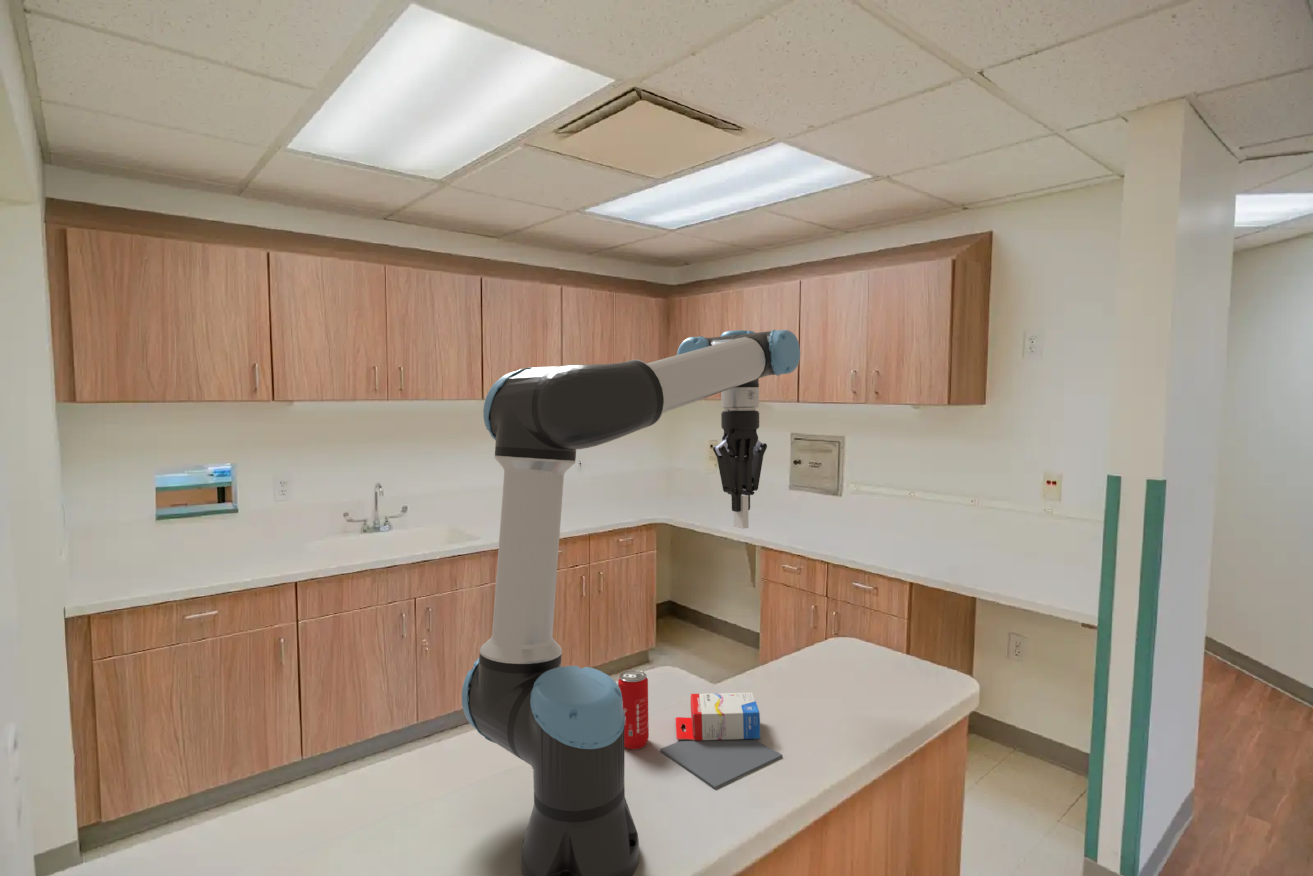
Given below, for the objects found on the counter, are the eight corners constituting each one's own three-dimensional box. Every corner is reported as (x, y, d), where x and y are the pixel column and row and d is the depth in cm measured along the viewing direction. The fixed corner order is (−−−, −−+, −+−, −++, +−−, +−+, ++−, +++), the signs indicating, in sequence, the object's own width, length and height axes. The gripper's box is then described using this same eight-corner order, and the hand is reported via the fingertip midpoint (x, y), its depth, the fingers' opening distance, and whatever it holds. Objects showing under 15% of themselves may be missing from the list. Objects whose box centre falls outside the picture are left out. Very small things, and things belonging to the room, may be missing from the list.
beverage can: (645, 752, 110) (644, 682, 109) (615, 749, 111) (614, 680, 111) (651, 737, 115) (650, 670, 115) (623, 734, 116) (622, 668, 116)
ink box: (760, 712, 112) (676, 714, 112) (760, 740, 113) (676, 742, 112) (752, 691, 121) (674, 693, 121) (753, 717, 121) (675, 719, 121)
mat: (714, 789, 99) (714, 786, 99) (660, 751, 110) (660, 749, 110) (782, 757, 108) (782, 754, 108) (725, 725, 119) (725, 722, 119)
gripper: (728, 409, 122) (729, 534, 123) (776, 409, 130) (777, 526, 131) (702, 410, 128) (704, 528, 129) (750, 409, 136) (751, 521, 137)
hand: (741, 527), depth 130 cm, fingers closed
